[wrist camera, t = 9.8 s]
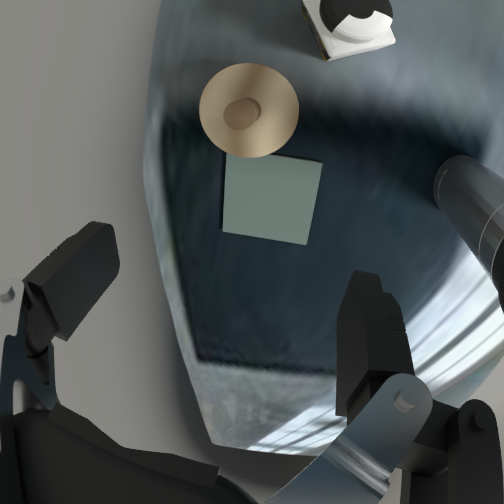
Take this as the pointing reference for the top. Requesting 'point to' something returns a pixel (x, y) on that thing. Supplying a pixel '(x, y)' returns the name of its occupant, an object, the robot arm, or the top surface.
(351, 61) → the top surface
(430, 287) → the top surface
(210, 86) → the lid
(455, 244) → the top surface
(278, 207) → the mat
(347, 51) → the medicine bottle
